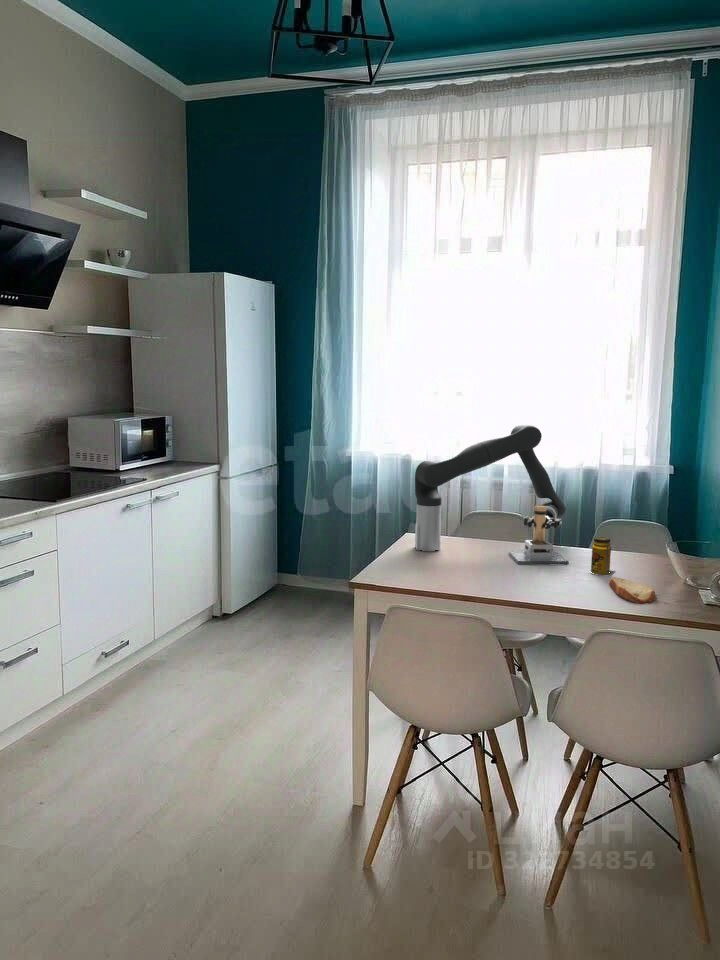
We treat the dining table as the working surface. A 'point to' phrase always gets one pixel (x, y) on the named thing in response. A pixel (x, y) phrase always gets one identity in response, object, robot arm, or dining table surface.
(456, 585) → the dining table surface
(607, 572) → the condiment
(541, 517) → the wooden peg
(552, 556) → the grey socket base
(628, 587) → the slice of bread
